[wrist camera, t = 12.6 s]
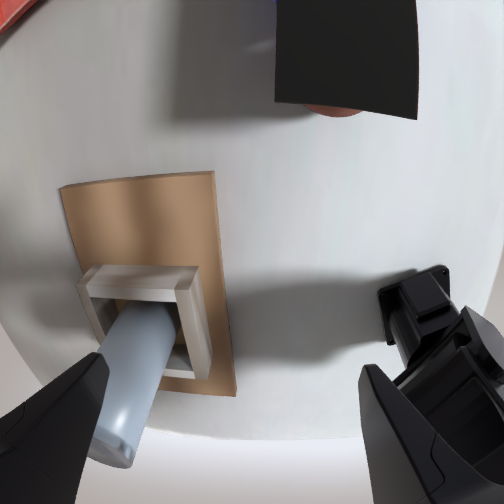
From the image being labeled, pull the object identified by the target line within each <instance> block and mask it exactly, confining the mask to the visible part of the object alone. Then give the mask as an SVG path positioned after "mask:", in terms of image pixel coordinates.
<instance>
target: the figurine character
mask: <svg viewBox="0 0 504 504" xmlns="http://www.w3.org/2000/svg"><path fill="white" fill-rule="evenodd" d="M275 1H276V3H277V28H276V70H275V102H277V103H295V104H304V105H305V106H306V107H307V108H309V109H311V110H312V111H314V112H316V113H319V114H321V115H325V116H330V117H347V116H352V115H355V114H358V113H360V112H362V111H368V112H374V113H380V114H386V115H392V116H397V117H402V118H407V119H412V120H417V114H418V93H419V42H418V22H417V9H416V0H275Z"/></svg>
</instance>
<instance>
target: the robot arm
mask: <svg viewBox="0 0 504 504" xmlns="http://www.w3.org/2000/svg"><path fill="white" fill-rule="evenodd" d="M443 271H444V273H442V272H443ZM382 294H385V295H384V296H382ZM377 298H378V302H379V307H380V312H381V317H382V322H383V328H384V333H385V339H386V343H387V345H390V346H391V345H394V344H396V345H397V348H398V350H399V353H400V356H401V358H402V361H403V364H404V366H405V370H404V371H403V372H402V373H401V374H400V375H399V376H398V377H397V378H395V379H394V380H393V381H391V380H390V379H389V378H388V377H387V376H386V374H385V373H384V372H383V371H382V370H381V369H380V368H379V367H378V366H377V365H376V364H366V365H364V366H363V368H362V371H361V374H360V378H359V381H358V390H359V402H360V416H361V427H362V433H363V438H364V444H365V449H366V455H367V461H368V467H369V473H370V480H371V487H372V494H373V501H374V504H504V338H503V336H502V335H501V334H500V332H499V331H498V330H497V329H496V328H495V326H494V325H493V324H492V323H490V322H489V321H487V320H486V319H485V318H483V317H482V316H480V315H479V314H478V313H476V312H475V311H473V310H472V309H470V308H469V307H468V306H466V305H465V307H464V308H463V309H462V310H461V313H459V311H458V310H457V308H456V307H455V305H454V304H453V302H452V301H451V299H450V277H449V269H448V268H447V267H446V266H444V265H443V266H440V267H438V268H435V269H433V270H430V271H428V272H425V273H422V274H420V275H417V276H415V277H412V278H409V279H407V280H404V281H401V282H399V283H396V284H393V285H390V286H388V287H385V288H382V289H380V290H379V291H378V293H377ZM390 340H391V341H390ZM109 375H110V369H109V366H108V364H107V362H106V360H105V358H104V356H103V355H102V354H101V353H96V352H91V353H90V354H88V355H87V356H85V357H84V358H83V359H81V360H80V361H79V362H77V363H76V364H74V365H73V366H72V367H70V368H69V369H68V370H66V371H65V372H64V373H62V374H61V375H60V376H58V377H57V378H55V379H54V380H53V381H51V382H50V383H49V384H47V385H46V386H45V387H43V388H42V389H41V390H39V391H38V392H37V393H35V394H34V395H33V396H31V397H30V398H29V399H27V400H26V402H23V403H22V404H21V405H19V406H18V407H16V408H15V409H14V410H12V411H11V412H9V413H8V414H6V415H5V416H3V417H2V418H0V504H75V500H76V495H77V490H78V487H79V483H80V479H81V475H82V472H83V468H84V465H85V461H86V458H87V454H88V451H89V447H90V444H91V441H92V437H93V434H94V431H95V428H96V425H97V422H98V419H99V415H100V412H101V409H102V405H103V401H104V397H105V392H106V388H107V383H108V379H109Z"/></svg>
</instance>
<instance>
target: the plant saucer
mask: <svg viewBox="0 0 504 504" xmlns="http://www.w3.org/2000/svg"><path fill="white" fill-rule="evenodd" d="M37 1H38V0H0V35H1V34H2V33H3V32H5V31H6V30H7V29H8V28H9V27H10V26H11V25H12V24H13V23H14V22H16V21H17V20H18V19H19V18H20V17H21V16H22V15H23V14H24V13H25V12H26V11H27V10H28V9H29V8H30V7H31V6H32V5H33V4H35V3H36V2H37Z"/></svg>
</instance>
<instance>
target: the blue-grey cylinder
mask: <svg viewBox="0 0 504 504" xmlns="http://www.w3.org/2000/svg"><path fill="white" fill-rule="evenodd" d="M180 326H181V320H180V315H179V311H178V306H177V303H176V302H162V301H143V300H128V301H127V303H126V304H125V306H124V307H123V309H122V311H121V312H120V314H119V315H118V317H117V319H116V320H115V322H114V324H113V325H112V327H111V328H110V330H109V332H108V333H107V335H106V337H105V338H104V340H103V342H102V343H101V345H100V347H99V349H98V350H97V352H96V353H101V354H102V355H103V356H104V358H105V360H106V362H107V364H108V366H109V369H110V375H109V379H108V383H107V388H106V392H105V397H104V401H103V405H102V409H101V412H100V415H99V419H98V422H97V425H96V428H95V431H94V434H93V437H92V441H91V444H90V447H89V451H88V454H87V457H89V458H91V459H93V460H95V461H98V462H100V463H103V464H106V465H109V466H112V467H116V468H124V469H126V468H130V467H131V466H132V463H133V460H134V457H135V454H136V451H137V448H138V445H139V441H140V438H141V436H142V433H143V430H144V427H145V424H146V421H147V418H148V415H149V412H150V409H151V406H152V403H153V400H154V398H155V395H156V392H157V389H158V386H159V383H160V381H161V378H162V375H163V372H164V369H165V367H166V364H167V361H168V358H169V356H170V353H171V350H172V348H173V345H174V342H175V339H176V337H177V334H178V331H179V329H180Z"/></svg>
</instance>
